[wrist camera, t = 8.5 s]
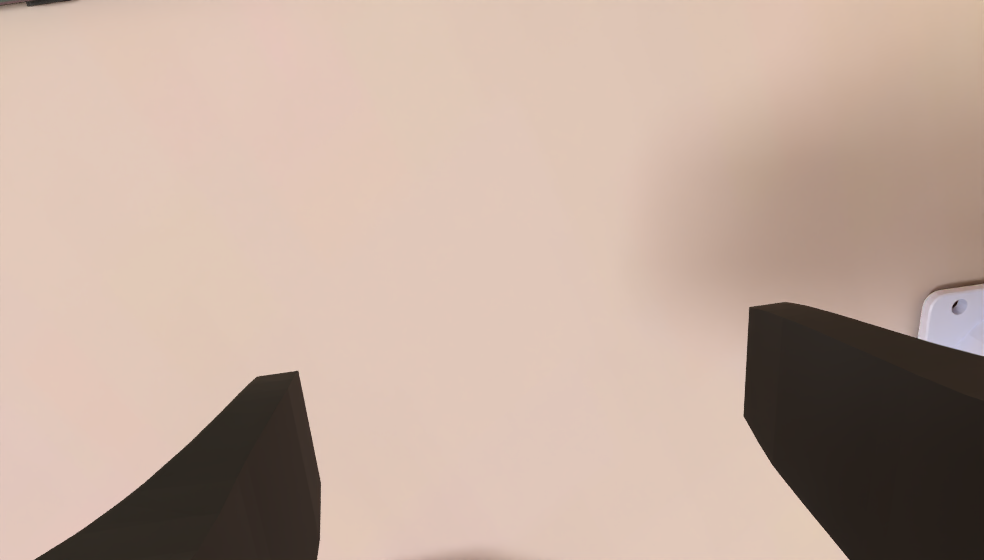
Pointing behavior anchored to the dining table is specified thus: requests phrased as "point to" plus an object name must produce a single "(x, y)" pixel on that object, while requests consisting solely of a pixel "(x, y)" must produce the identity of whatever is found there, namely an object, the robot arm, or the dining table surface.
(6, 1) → the smartphone
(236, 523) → the robot arm
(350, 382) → the dining table surface
